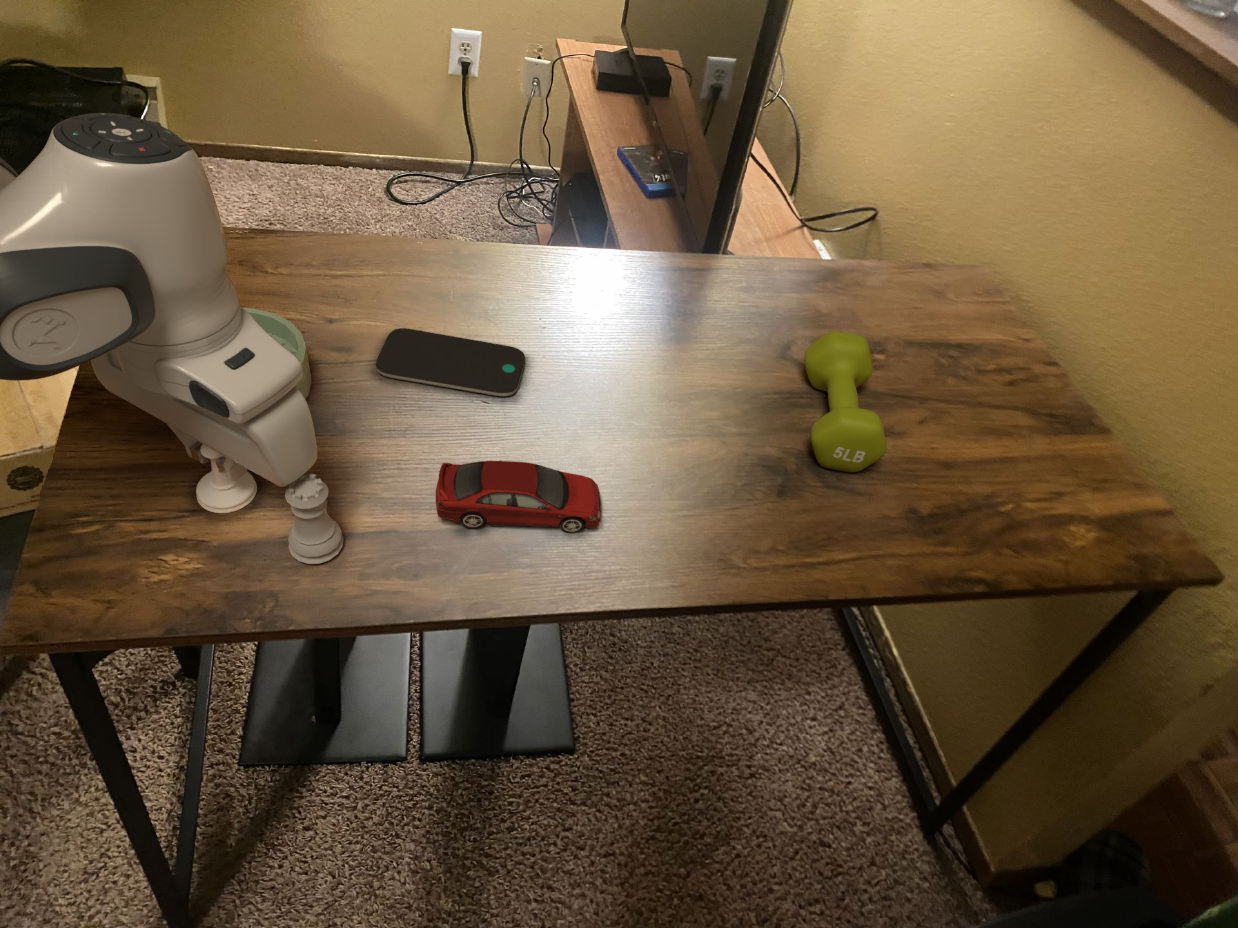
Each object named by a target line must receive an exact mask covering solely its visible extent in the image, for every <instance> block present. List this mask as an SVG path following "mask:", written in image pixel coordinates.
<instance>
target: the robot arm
mask: <svg viewBox="0 0 1238 928" xmlns="http://www.w3.org/2000/svg"><path fill="white" fill-rule="evenodd" d="M228 250H229V249H228V243H227V239H226V233H225V230H224V227H223V222H222V219H221V214H220V212H219V208H218V205H217V202H216V199H215V195H214V192H213V189H212V185H211V183H210V180H209V178H208V176H207V173H206V171H205V168H204V166H203V164H202V161H201V159H200V158H199V156H198V155H197V153H196V151H195V149H193V148H192V146H191V145H189V143H187V142H186V141H185V140H184V139H182V138H181V137H179V135H177V134H176V133H174V132H173V131H172V130H170V129H168V128H166V127H164V126H162V125H160V124H158V123H156V122H154V121H152V120H147V119H144V118H140V117H134V116H132V115H130V114H123V113H113V112H93V113H85V114H79V115H76V116H72V117H68V118H66V119H63V120H62V121H59V122H58V123H57V124H56V125H55V126H54V127H53V128H52V130H51V132H50V134H49V137H48V139H47V141H46V143H45V145H44V147H43V149H42V150H41V151H40V153H39V154H37V156H36V157H35V158H34V159H33V161H32V162H31V163H30V164H29V165H28V166H27V167H26V168H25V169H24V170H23V171H22V172H21V173H19V174H18V172H17V171H16V170H15V169H14V168H13V167H12V165H10V164H9V163H8V162H7V161H6V160H4V159H3V158H2V157H0V380H1V381H16V382H18V381H35V380H40V379H45V378H50V377H54V376H56V375H59V374H63V373H65V372H67V371H70V370H73V369H75V368H78V367H79V366H82V365H84V364H86V363H89V362H90V363H91V366H92V369H93V372H94V374H95V377H96V378H97V380H98V381H99V382H100V383H101V385H102V386H103V387H104V388H105V390H107V391H108V392H110V393H111V394H113V395H115V396H117V397H119V398H121V399H122V400H124V401H126V402H127V403H130V404H131V405H133V406H135V407H136V408H139V410H142V411H144V412H145V413H146V414H149V415H151V416H152V417H155V418H156V419H158V420H160V421H162V422H163V423H165V424H167V426H168V427H169V428H170V430H171V431H172V432H173V434H174V435H175V436H176V437H177V438H178V440H179V441H180V442H181V443H182V444H183V445H184V448H185V452H186V454H187V456H188V457H189V458H191V459H192V460H195V461H196V462H198V463H200V464H202V465H204V464H206V463H207V462H209V460H210V458H206V457H204V456H203V455H202V454H201V451H200V450H201V446H202V444H204V445H206V446H208V447H210V448H212V449H213V450H215V451H217V452H219V453H220V454H221V455H222V456H224V457H221V458H220V459H219V460H218V461H216V465H217V468H218V469H219V470H218V472H219V473H220V474H221V475H223V476H225V477H226V478H228V479H230V480H232V481H236V480H238V479H239V478H240V477H241V476H243V475H244V474H245V473H246V472H248V470H249V471H251V472H253V473H254V474H256V475H258V476H259V477H262V478H263V479H265V480H267V481H269V482H270V483H272V484H273V485H276V486H277V487H280V488H283V487H284V488H285V487H287V486H289V484H291V483H292V482H294V481H296V480H297V479H298V478H299V477H301V476H302V475H303V474H304V475H305V473H307V472H308V471H309V470H310V469H311V468H312V467H313V466H314V464H315V463H316V462H317V459H318V446H317V438H316V433H315V427H314V421H313V417H312V414H311V413H312V412H311V410H310V407H309V404H308V402H307V398H306V399H305V398H304V396H303V394H302V393H301V392H300V390H299V389H298V388H297V387H296V385H297V384H298V383H299V382H300V381H301V380H302V379H303V369H302V365H301V363H300V361H299V360H298V359H297V358H296V357H295V356H294V355H293V354H292V353H290V352H289V351H288V350H287V349H285V348H284V347H283V346H282V345H280V344H279V343H278V342H277V341H276V340H274V339H273V338H272V337H271V336H270V335H269V334H268V333H267V332H266V331H265V330H264V329H263V328H262V327H261V326H260V325H259V324H258V323H257V322H256V321H255V320H254V318H253V317H252V316H251V315H250V314H249V313H248V312H247V311H246V310H245V309H243V308H244V307H242V306H241V301H240V297H239V294H238V291H237V288H236V286H235V284H234V282H233V281H232V279H231V278H230V277H229V274H228V270H227V264H228V258H229V257H228V256H229V251H228Z"/></svg>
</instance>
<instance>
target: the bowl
mask: <svg viewBox="0 0 1238 928" xmlns="http://www.w3.org/2000/svg"><path fill="white" fill-rule="evenodd" d="M242 308H243V309H245V310H246V311H247V312H248V313H249V314H250V315H251V316H252V317H253V318H254V320H255V321H256V322H257V323H258V324H259V325H260V326H261V327H262V328H263V329H264V330H265V331H266V332H267V333H268V334H269V335H270V336H271V337H272V338H273V339H274V340H276V341H277V342H278V343H279V344H280V345H282V346H283V347H284V348H285V349H287V350H288V351H289V352H290V353H292V354H293V355H294V356H295V357H296V358H297V359H298V360H299V361H300V363H301V365H302V369H303V379H302V380H301V381H300V382H299V383H298V384H297V385H296V387H297V388H298V389H299V390H300V392H301V393H302V394H303V396H304V398H305V399H306V400H307V398H308V396H309V394H310V390H311V385H312V374H311V368H310V363H309V356H308V349H307V344H306V342H305V339H304V336H303V333H302V331H300V330H299V328H298V327H296V325H294V323H293V322H292V321H290V320H289V319H287V318H284V317H283V316H280V314H279V315H278V314H276V313H274V312H270V311H267V310H262V309H258V308H254V307H242Z"/></svg>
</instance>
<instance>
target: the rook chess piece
mask: <svg viewBox="0 0 1238 928" xmlns="http://www.w3.org/2000/svg"><path fill="white" fill-rule="evenodd" d="M328 496H329V488H328V486H327V484H326V483H325V482H323V481H322V479H321V478H317V475H316V474H314V473H309V474H308V476H305V473H304V474H303V475H302V476H301V477H299V478H298V479H297V480H295V481H294V482H292V483H291V484H289V485H288V487H287V488H286V489H285V494H284V498H285V500H286V502H287V503H288V504H289V505H290V510H291V512H292V514H293V515H294V523H293V524H292V525H291V528H290V529H289V532H288V538H287V543H288V550H289V552H290V555H291V556H292V557H293V558H294V559H296V560H297V561H298V562H300V563H303V564H308V565H321V564H322V563H326V562H328V561H331V560H332V559H333V558H334V557H336V556H337V555H338V554H339V553H340V551H341V550H342V548H343V546H344V535H343V534H342V529H341V527H340V526H339V523H338V522H337V521H336V520H335V519H333V518H332V517H331V516H330V515H328V512H327V508H328V500H327V498H328Z"/></svg>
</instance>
